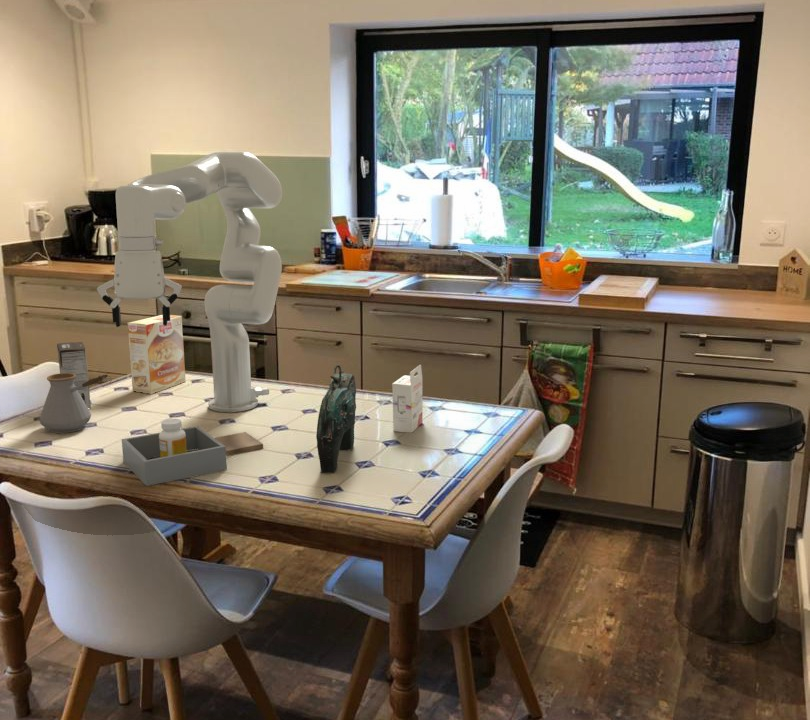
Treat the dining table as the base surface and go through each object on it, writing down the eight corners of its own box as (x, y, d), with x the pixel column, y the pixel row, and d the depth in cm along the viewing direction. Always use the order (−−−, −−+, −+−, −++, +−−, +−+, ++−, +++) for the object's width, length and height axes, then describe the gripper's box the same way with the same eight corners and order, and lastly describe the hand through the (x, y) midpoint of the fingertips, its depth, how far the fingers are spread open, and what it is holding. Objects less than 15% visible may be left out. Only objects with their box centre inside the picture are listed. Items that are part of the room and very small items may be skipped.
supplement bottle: (190, 461, 180) (187, 417, 177) (184, 470, 174) (181, 425, 172) (164, 461, 179) (161, 417, 177) (158, 470, 174) (154, 425, 172)
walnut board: (245, 436, 196) (245, 432, 195) (263, 448, 187) (262, 443, 187) (203, 443, 190) (203, 439, 190) (220, 456, 182) (219, 452, 182)
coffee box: (62, 402, 223) (56, 343, 220) (88, 400, 226) (82, 340, 222) (64, 411, 215) (58, 350, 212) (91, 408, 218) (85, 347, 214)
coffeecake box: (151, 394, 231) (146, 324, 226) (131, 391, 234) (125, 322, 229) (187, 381, 244) (182, 315, 240) (167, 379, 247) (162, 313, 243)
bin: (199, 447, 188) (197, 425, 187) (226, 469, 174) (225, 446, 173) (123, 461, 179) (121, 439, 178) (146, 486, 166) (144, 462, 165)
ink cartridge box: (403, 421, 207) (403, 362, 203) (423, 423, 205) (423, 363, 202) (391, 431, 199) (391, 370, 195) (411, 433, 197) (411, 372, 194)
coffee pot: (29, 431, 200) (23, 369, 196) (69, 418, 210) (63, 359, 206) (93, 445, 190) (87, 380, 186) (132, 431, 200) (127, 369, 196)
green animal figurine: (336, 442, 191) (334, 356, 186) (364, 444, 190) (362, 357, 185) (311, 473, 172) (308, 378, 167) (342, 475, 171) (340, 379, 166)
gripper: (180, 243, 184) (184, 321, 187) (96, 244, 180) (101, 323, 184) (179, 246, 177) (183, 326, 180) (91, 246, 173) (97, 329, 177)
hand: (142, 325), depth 182 cm, fingers open, 9 cm apart
